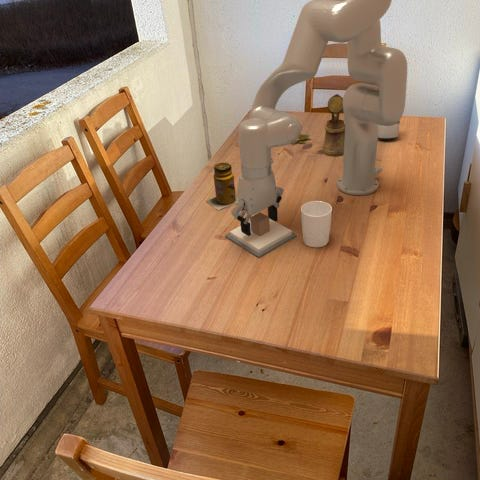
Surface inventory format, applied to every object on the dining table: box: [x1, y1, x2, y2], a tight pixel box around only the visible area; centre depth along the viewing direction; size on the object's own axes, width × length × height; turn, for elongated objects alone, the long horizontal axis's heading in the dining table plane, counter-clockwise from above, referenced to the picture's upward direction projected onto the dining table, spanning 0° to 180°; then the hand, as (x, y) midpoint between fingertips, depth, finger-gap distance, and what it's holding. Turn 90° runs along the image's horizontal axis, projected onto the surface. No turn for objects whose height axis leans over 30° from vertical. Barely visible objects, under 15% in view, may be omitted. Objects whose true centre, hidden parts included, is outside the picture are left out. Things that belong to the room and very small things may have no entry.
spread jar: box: [377, 119, 401, 142], centre depth 175 cm, size 12×11×12 cm
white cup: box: [300, 200, 333, 248], centre depth 123 cm, size 8×8×10 cm
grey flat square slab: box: [224, 231, 298, 259], centre depth 129 cm, size 14×14×1 cm
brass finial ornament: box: [321, 93, 345, 157], centre depth 168 cm, size 9×14×18 cm, turn 170°
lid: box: [229, 211, 293, 253], centre depth 128 cm, size 12×12×6 cm
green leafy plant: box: [291, 133, 310, 146], centre depth 182 cm, size 12×12×5 cm
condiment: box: [205, 162, 238, 211], centre depth 144 cm, size 7×8×12 cm
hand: (259, 226), depth 128 cm, fingers open, 9 cm apart
